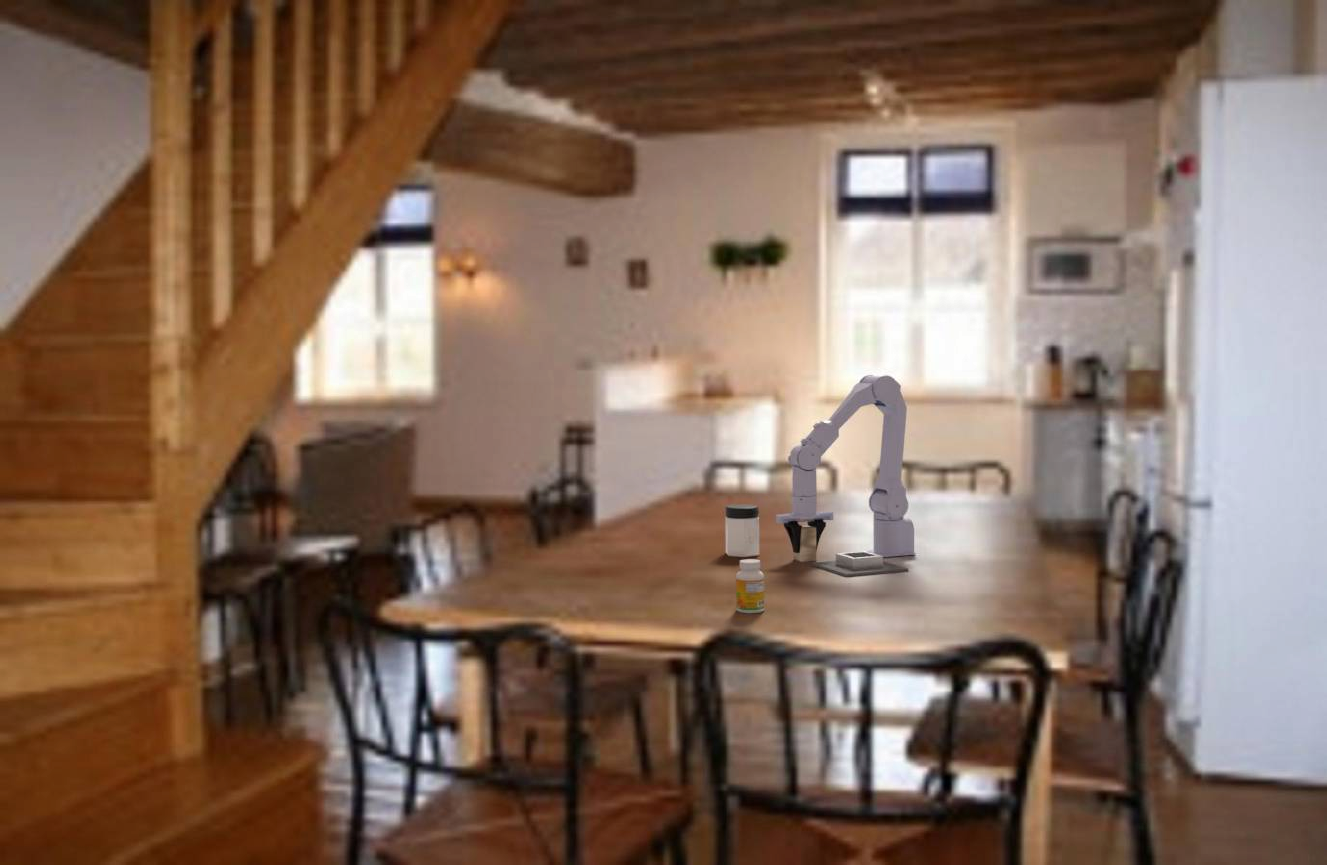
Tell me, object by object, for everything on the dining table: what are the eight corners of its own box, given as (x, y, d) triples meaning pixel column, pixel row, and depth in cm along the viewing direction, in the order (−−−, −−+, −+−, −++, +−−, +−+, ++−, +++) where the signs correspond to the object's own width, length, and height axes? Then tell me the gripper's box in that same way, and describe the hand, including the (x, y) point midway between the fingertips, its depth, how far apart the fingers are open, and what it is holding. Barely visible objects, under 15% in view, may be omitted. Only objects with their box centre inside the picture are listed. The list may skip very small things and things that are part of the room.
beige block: (808, 558, 282) (808, 525, 282) (816, 560, 279) (816, 527, 278) (793, 559, 281) (793, 526, 280) (801, 561, 277) (801, 528, 277)
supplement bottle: (734, 608, 227) (733, 558, 227) (761, 607, 228) (761, 557, 227) (738, 614, 222) (738, 563, 221) (766, 613, 222) (766, 562, 222)
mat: (871, 560, 278) (870, 557, 278) (908, 571, 263) (908, 568, 263) (811, 565, 273) (811, 562, 272) (846, 576, 258) (846, 574, 258)
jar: (738, 558, 283) (737, 509, 283) (718, 553, 290) (717, 506, 289) (766, 554, 288) (766, 506, 287) (746, 550, 295) (746, 503, 294)
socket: (865, 561, 273) (865, 550, 273) (882, 566, 266) (882, 556, 266) (835, 564, 270) (835, 553, 270) (853, 569, 263) (853, 558, 263)
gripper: (823, 491, 285) (823, 546, 286) (769, 495, 280) (770, 551, 281) (837, 494, 279) (837, 551, 279) (783, 498, 273) (783, 555, 274)
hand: (804, 551), depth 280 cm, fingers closed on beige block, 4 cm apart
